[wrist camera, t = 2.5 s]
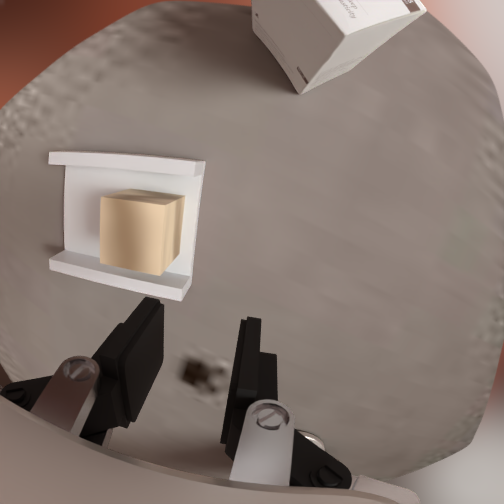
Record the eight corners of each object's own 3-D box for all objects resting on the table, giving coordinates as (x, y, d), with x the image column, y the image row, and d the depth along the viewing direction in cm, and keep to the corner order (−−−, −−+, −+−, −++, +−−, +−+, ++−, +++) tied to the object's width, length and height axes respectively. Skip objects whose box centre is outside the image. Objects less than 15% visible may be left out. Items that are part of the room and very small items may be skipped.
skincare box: (251, 31, 22) (234, -70, 7) (305, 6, 20) (331, -94, 6) (302, 100, 23) (340, 37, 9) (356, 73, 22) (434, 6, 8)
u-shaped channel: (205, 161, 26) (195, 161, 22) (191, 284, 29) (181, 301, 26) (71, 150, 26) (49, 151, 22) (69, 257, 29) (49, 269, 26)
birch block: (185, 195, 26) (165, 205, 21) (179, 253, 28) (160, 275, 22) (130, 188, 26) (101, 196, 21) (127, 244, 28) (100, 263, 22)
